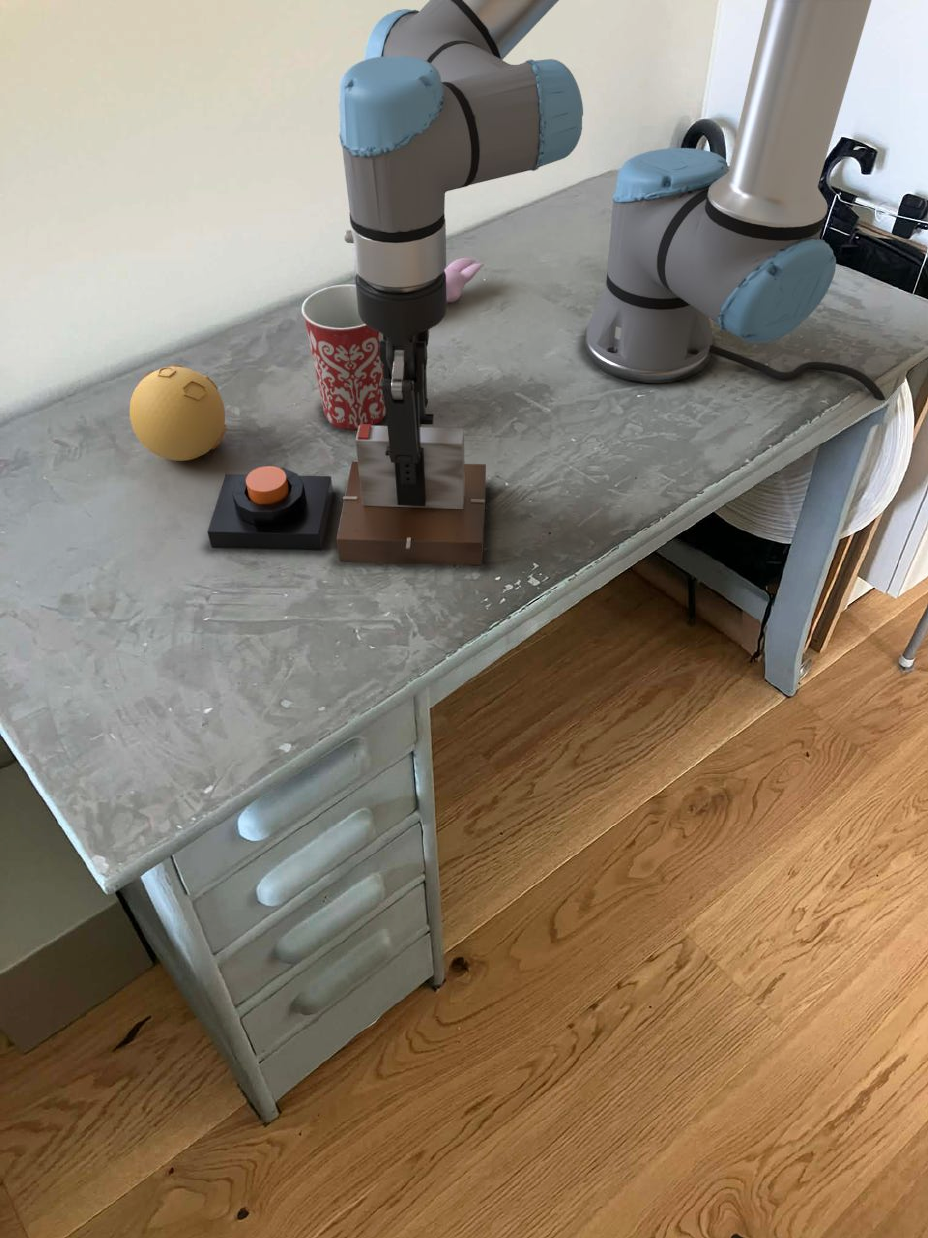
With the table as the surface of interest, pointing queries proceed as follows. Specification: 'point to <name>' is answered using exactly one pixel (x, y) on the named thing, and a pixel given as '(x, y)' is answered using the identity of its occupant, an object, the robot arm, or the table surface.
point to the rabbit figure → (459, 276)
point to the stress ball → (177, 413)
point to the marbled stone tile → (439, 467)
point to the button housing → (272, 515)
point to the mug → (345, 358)
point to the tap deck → (413, 527)
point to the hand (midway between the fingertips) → (413, 492)
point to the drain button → (267, 485)
